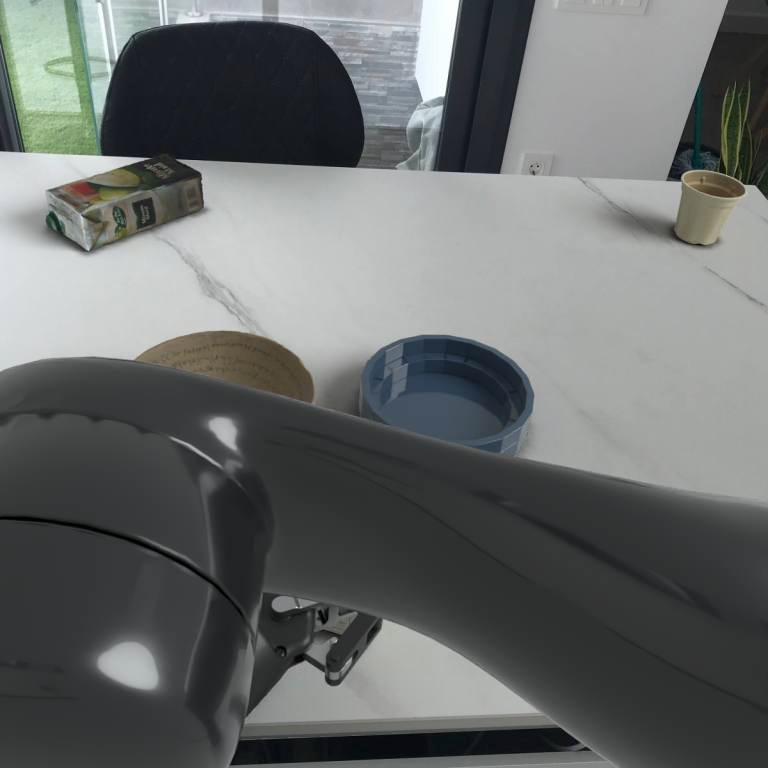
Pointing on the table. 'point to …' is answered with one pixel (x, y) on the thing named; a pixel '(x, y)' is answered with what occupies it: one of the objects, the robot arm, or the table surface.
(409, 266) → the table surface
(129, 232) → the juice carton
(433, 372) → the serving bowl
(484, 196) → the table surface
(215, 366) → the bowl
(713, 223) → the flower pot
